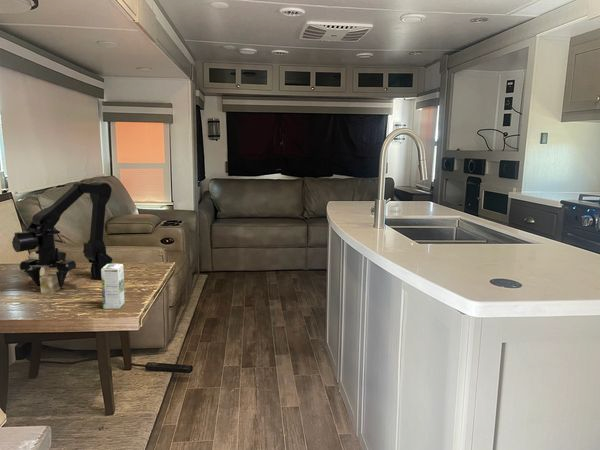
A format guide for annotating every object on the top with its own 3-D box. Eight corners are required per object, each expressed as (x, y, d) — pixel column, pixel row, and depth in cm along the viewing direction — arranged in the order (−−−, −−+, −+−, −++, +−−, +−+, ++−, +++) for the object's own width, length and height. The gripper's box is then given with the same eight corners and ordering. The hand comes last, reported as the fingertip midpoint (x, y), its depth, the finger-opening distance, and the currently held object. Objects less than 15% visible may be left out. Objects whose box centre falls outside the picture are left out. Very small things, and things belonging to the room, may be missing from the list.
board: (86, 283, 178) (85, 278, 178) (76, 288, 172) (76, 283, 171) (38, 281, 180) (38, 276, 179) (27, 286, 173) (27, 281, 173)
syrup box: (108, 303, 157) (105, 263, 154) (125, 303, 158) (123, 263, 155) (102, 309, 152) (99, 268, 149) (120, 309, 152) (118, 268, 149)
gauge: (72, 282, 179) (71, 268, 178) (51, 294, 166) (49, 278, 165) (63, 282, 179) (61, 267, 178) (40, 293, 166) (39, 278, 165)
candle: (38, 277, 185) (36, 253, 183) (26, 276, 186) (24, 253, 184) (48, 273, 190) (46, 250, 188) (37, 272, 191) (34, 249, 189)
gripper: (82, 242, 172) (85, 281, 175) (36, 241, 174) (40, 279, 177) (65, 249, 161) (68, 290, 164) (16, 247, 163) (21, 288, 166)
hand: (50, 287), depth 168 cm, fingers open, 8 cm apart
